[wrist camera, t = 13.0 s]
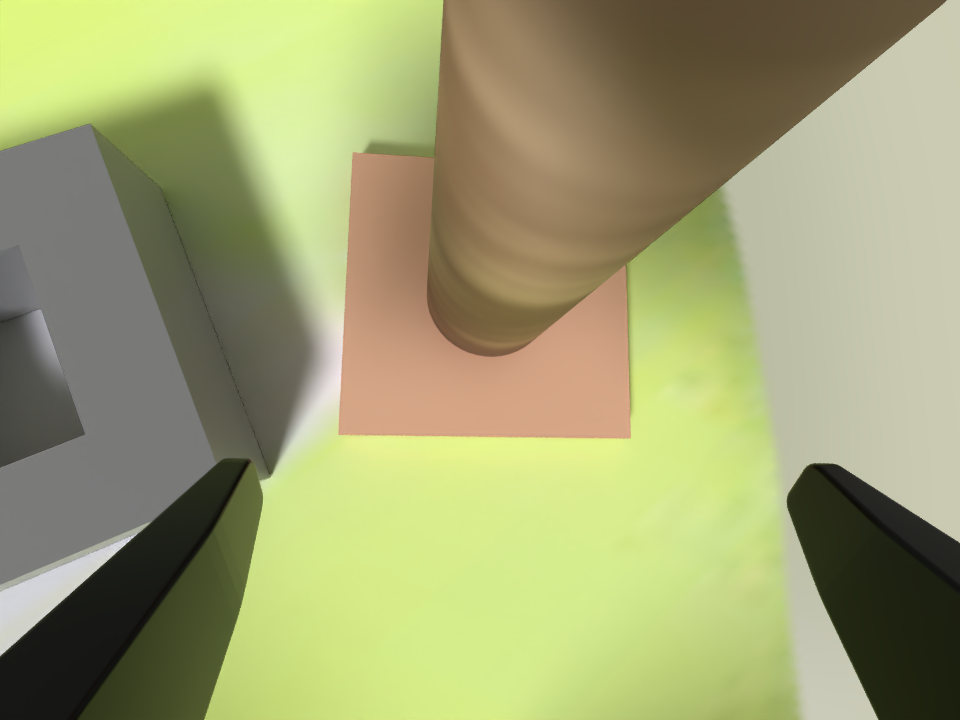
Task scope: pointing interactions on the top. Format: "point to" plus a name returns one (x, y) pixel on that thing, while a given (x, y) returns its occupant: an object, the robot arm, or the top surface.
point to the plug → (609, 134)
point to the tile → (441, 365)
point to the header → (108, 352)
